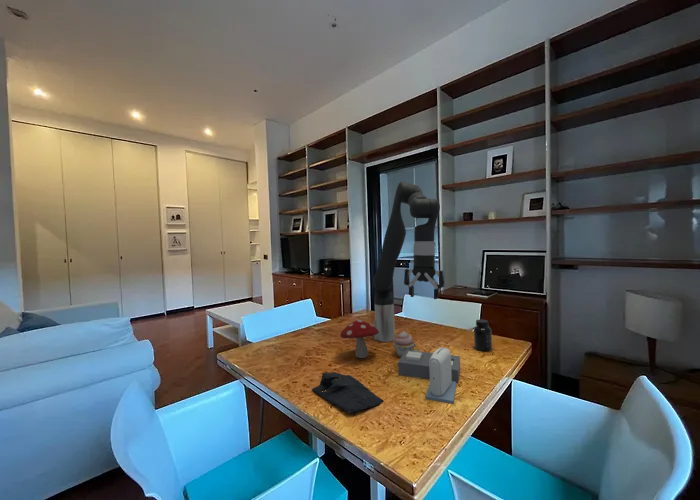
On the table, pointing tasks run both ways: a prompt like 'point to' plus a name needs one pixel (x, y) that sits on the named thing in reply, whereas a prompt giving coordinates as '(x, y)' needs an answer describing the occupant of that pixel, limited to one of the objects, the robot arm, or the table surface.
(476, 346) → the supplement bottle
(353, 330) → the decorative mushroom
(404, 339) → the cupcake
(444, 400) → the pad
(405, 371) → the switch box
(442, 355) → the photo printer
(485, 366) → the table surface
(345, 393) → the folded black shirt
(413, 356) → the left switch
